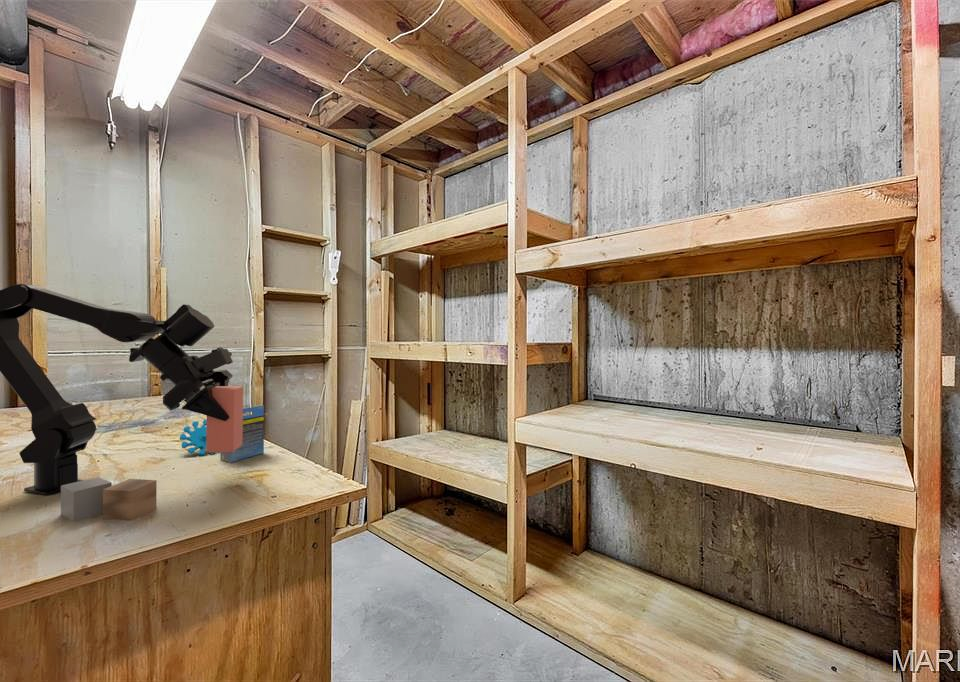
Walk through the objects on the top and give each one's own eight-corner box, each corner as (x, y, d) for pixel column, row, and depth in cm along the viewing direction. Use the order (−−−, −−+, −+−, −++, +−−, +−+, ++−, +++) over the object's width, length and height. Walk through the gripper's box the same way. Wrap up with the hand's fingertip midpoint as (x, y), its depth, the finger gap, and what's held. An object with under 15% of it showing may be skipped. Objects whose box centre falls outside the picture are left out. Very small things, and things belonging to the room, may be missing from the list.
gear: (176, 452, 101) (183, 417, 107) (174, 465, 104) (181, 430, 110) (230, 452, 107) (233, 419, 113) (226, 464, 110) (230, 431, 116)
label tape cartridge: (254, 451, 109) (255, 403, 109) (264, 453, 108) (265, 405, 107) (219, 460, 101) (220, 408, 101) (229, 463, 100) (230, 410, 99)
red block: (206, 452, 85) (206, 389, 85) (216, 445, 90) (217, 386, 90) (233, 451, 86) (234, 389, 86) (242, 444, 91) (243, 386, 91)
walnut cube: (102, 519, 71) (102, 489, 70) (129, 506, 76) (129, 478, 75) (131, 521, 70) (131, 491, 70) (156, 508, 75) (156, 480, 75)
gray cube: (60, 515, 72) (60, 485, 72) (98, 504, 76) (98, 476, 76) (73, 522, 69) (73, 491, 69) (111, 511, 74) (111, 482, 74)
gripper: (182, 336, 77) (247, 396, 80) (223, 333, 96) (275, 383, 98) (132, 379, 76) (200, 439, 79) (183, 368, 94) (237, 417, 97)
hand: (232, 416), depth 88 cm, fingers closed on red block, 5 cm apart
